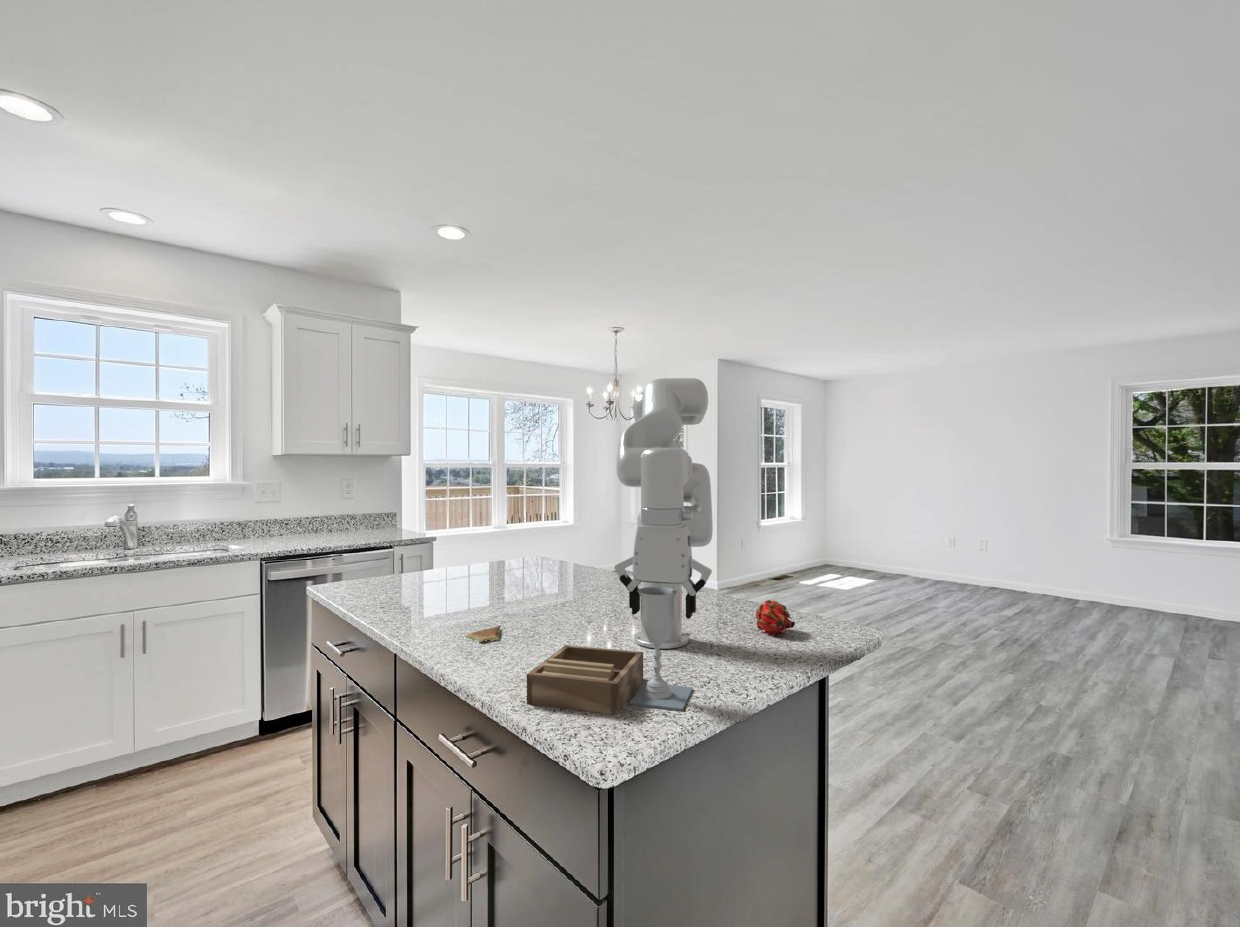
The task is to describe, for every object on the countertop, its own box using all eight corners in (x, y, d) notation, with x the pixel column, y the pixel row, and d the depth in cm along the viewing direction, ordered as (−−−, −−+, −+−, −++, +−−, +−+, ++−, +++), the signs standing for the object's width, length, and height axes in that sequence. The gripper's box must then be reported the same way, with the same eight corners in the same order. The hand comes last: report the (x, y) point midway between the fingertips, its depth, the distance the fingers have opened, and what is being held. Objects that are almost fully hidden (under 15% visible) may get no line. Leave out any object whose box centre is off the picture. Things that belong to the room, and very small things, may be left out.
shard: (500, 631, 146) (500, 624, 146) (520, 636, 141) (520, 629, 141) (463, 640, 138) (463, 633, 138) (483, 646, 133) (483, 638, 133)
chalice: (631, 689, 104) (631, 588, 105) (664, 684, 107) (664, 585, 107) (649, 704, 97) (649, 596, 98) (684, 697, 100) (684, 593, 101)
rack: (565, 670, 116) (565, 645, 116) (643, 678, 111) (643, 652, 111) (526, 703, 99) (526, 674, 99) (616, 714, 94) (616, 683, 94)
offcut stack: (549, 695, 103) (549, 658, 103) (614, 702, 100) (614, 664, 100) (541, 702, 100) (541, 664, 100) (607, 710, 96) (607, 671, 96)
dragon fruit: (767, 632, 150) (784, 653, 138) (742, 613, 148) (756, 633, 137) (787, 606, 149) (806, 625, 137) (762, 587, 148) (778, 605, 136)
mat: (644, 684, 108) (644, 682, 108) (692, 689, 105) (692, 687, 105) (630, 704, 98) (630, 702, 98) (682, 711, 96) (682, 708, 96)
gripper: (714, 517, 104) (714, 612, 104) (621, 514, 109) (621, 605, 109) (708, 521, 96) (708, 624, 97) (609, 518, 101) (609, 616, 102)
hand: (662, 614), depth 103 cm, fingers open, 9 cm apart
